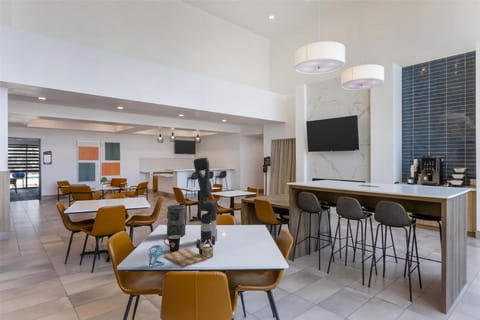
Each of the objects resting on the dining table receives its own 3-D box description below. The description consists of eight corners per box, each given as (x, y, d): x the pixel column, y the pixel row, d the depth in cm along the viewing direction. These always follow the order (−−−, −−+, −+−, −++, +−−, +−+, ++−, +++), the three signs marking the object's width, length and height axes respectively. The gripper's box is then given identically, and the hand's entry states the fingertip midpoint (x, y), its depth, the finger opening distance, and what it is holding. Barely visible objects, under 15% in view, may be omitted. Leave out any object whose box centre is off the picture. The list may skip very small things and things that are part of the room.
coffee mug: (182, 250, 199) (182, 236, 199) (174, 253, 191) (174, 239, 191) (171, 247, 205) (171, 234, 205) (162, 250, 197) (162, 236, 197)
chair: (146, 265, 169) (146, 246, 169) (156, 261, 176) (157, 243, 176) (154, 268, 165) (154, 249, 165) (164, 264, 172) (165, 245, 172)
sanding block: (204, 253, 192) (205, 245, 192) (213, 257, 186) (213, 248, 186) (199, 255, 188) (199, 247, 188) (207, 259, 182) (207, 250, 182)
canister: (181, 238, 227) (181, 205, 227) (163, 237, 230) (164, 204, 230) (187, 233, 243) (188, 202, 243) (171, 232, 245) (171, 201, 245)
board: (186, 250, 197) (186, 248, 197) (206, 259, 180) (206, 257, 180) (164, 256, 184) (164, 254, 184) (183, 267, 167) (183, 264, 167)
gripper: (211, 226, 194) (210, 249, 194) (194, 230, 185) (194, 253, 184) (217, 228, 189) (217, 251, 189) (200, 232, 179) (200, 256, 179)
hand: (205, 252), depth 187 cm, fingers open, 8 cm apart
